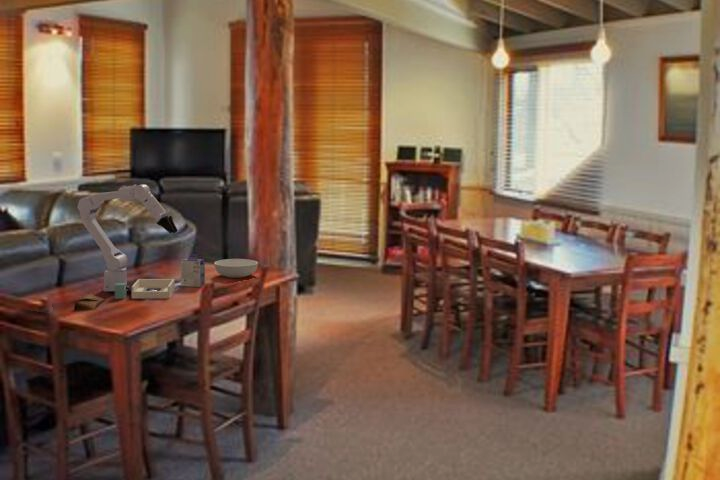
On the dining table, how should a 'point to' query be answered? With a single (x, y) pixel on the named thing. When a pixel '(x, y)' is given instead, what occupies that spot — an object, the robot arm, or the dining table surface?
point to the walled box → (161, 285)
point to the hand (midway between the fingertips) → (174, 232)
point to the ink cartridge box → (193, 271)
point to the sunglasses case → (88, 302)
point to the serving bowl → (236, 267)
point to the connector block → (120, 290)
